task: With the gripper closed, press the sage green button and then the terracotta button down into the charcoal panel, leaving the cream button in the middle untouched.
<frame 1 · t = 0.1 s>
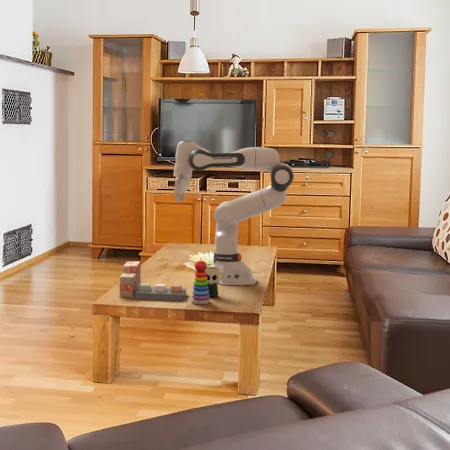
hand: (179, 201, 331), 39 cm above the table, tool pointing down, fingers open, 8 cm apart
character mug: (211, 296, 303), on the table
terracotta button: (176, 288, 299), point 4 cm above the table, slide at 0.0 cm
button panel: (160, 297, 301), on the table
stack of blocks: (130, 292, 310), on the table
stacking toy: (200, 303, 292), on the table
cream button: (160, 288, 300), point 4 cm above the table, slide at 0.0 cm
sage button: (145, 287, 301), point 4 cm above the table, slide at 0.0 cm
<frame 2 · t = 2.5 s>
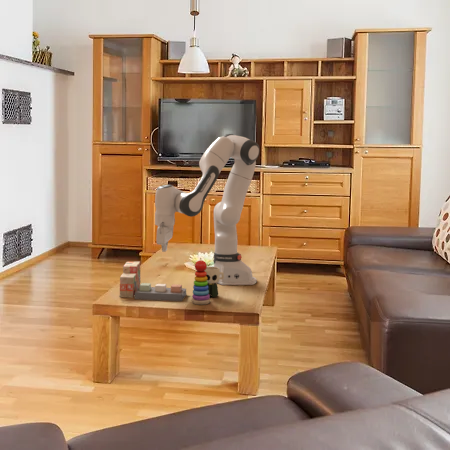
hand: (164, 251, 307), 19 cm above the table, tool pointing down, fingers closed
nothing on the table moved.
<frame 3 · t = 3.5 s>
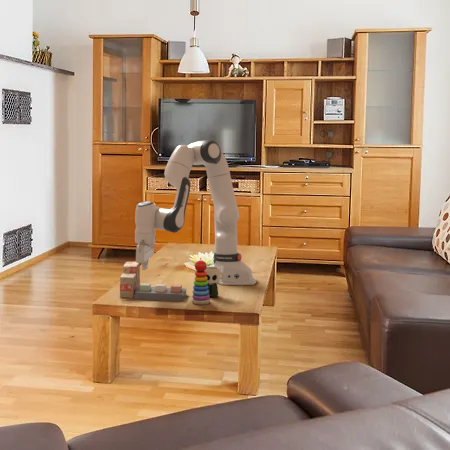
hand: (144, 269, 300), 12 cm above the table, tool pointing down, fingers closed
nothing on the table moved.
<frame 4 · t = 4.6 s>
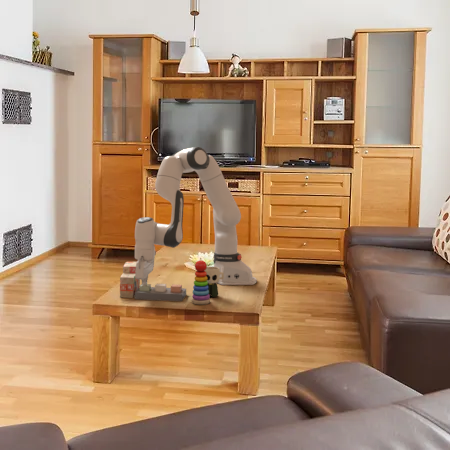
hand: (144, 285, 301), 5 cm above the table, tool pointing down, fingers closed, pressing on sage button
sage button: (145, 288, 301), point 4 cm above the table, slide at 0.4 cm, touching gripper
everything else where it was.
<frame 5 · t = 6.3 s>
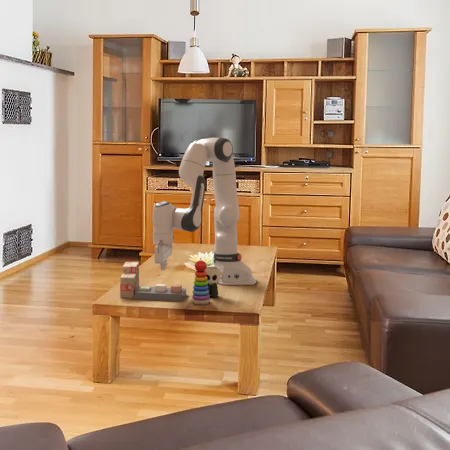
hand: (163, 269, 299), 12 cm above the table, tool pointing down, fingers closed
sage button: (145, 290, 301), point 3 cm above the table, slide at 1.4 cm
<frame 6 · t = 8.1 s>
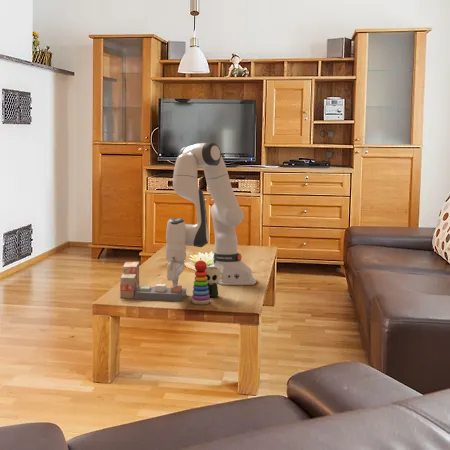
hand: (175, 286, 299), 5 cm above the table, tool pointing down, fingers closed, pressing on terracotta button
terracotta button: (176, 289, 299), point 4 cm above the table, slide at 0.4 cm, touching gripper
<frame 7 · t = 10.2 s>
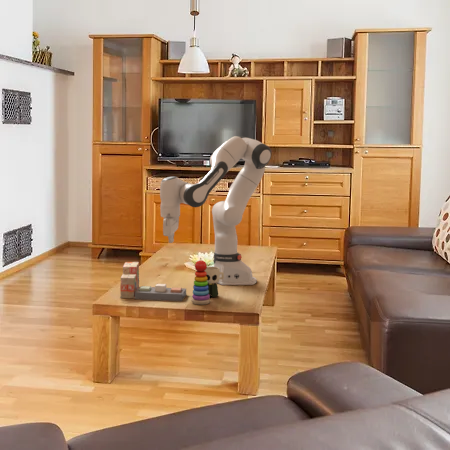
hand: (171, 242, 310), 23 cm above the table, tool pointing down, fingers closed
terracotta button: (176, 292, 299), point 3 cm above the table, slide at 1.4 cm
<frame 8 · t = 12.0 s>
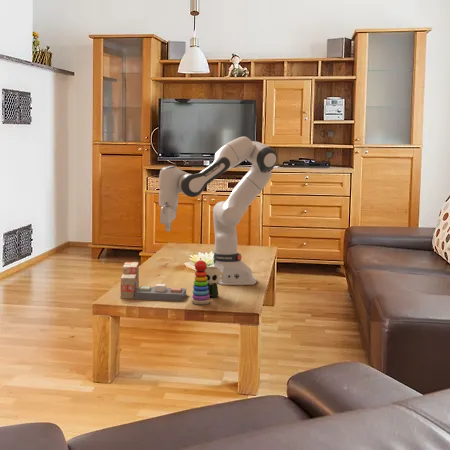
hand: (168, 231, 313), 27 cm above the table, tool pointing down, fingers closed
at the end: sage button slide at 1.4 cm; terracotta button slide at 1.4 cm; cream button slide at 0.0 cm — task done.
